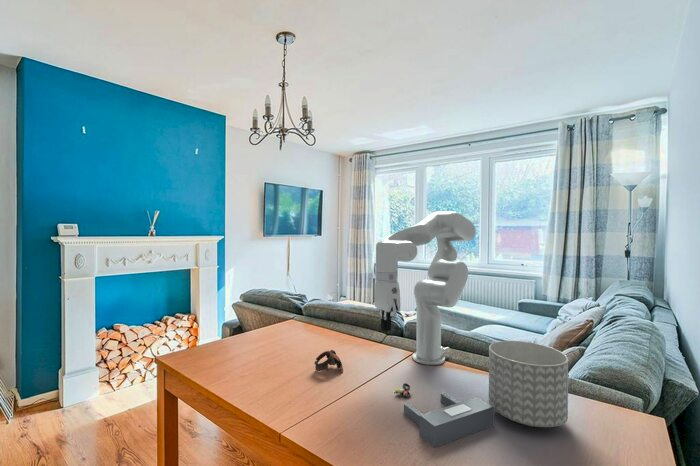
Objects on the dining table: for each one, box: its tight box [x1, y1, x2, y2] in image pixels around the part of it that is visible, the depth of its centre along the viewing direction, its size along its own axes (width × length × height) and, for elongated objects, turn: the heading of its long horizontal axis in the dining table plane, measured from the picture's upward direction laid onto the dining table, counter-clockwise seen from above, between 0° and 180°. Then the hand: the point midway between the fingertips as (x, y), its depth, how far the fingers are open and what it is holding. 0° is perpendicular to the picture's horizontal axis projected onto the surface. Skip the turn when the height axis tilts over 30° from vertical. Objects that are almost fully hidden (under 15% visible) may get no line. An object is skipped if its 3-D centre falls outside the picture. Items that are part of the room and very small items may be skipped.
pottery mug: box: [314, 349, 344, 374], centre depth 122 cm, size 12×10×8 cm
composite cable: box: [393, 382, 412, 400], centre depth 106 cm, size 10×5×2 cm, turn 152°
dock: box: [403, 392, 495, 448], centre depth 90 cm, size 20×16×5 cm
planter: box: [488, 340, 569, 428], centre depth 91 cm, size 19×19×18 cm
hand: (386, 330), depth 115 cm, fingers closed
